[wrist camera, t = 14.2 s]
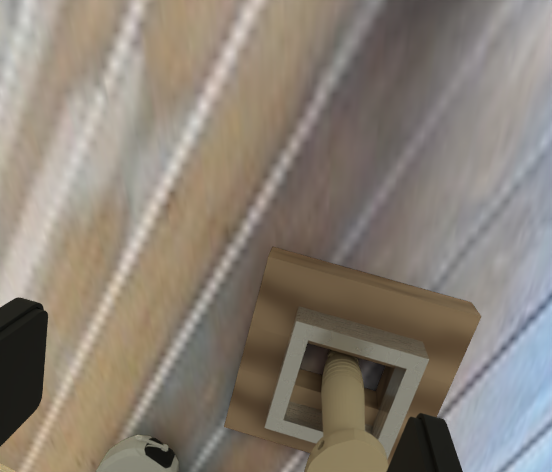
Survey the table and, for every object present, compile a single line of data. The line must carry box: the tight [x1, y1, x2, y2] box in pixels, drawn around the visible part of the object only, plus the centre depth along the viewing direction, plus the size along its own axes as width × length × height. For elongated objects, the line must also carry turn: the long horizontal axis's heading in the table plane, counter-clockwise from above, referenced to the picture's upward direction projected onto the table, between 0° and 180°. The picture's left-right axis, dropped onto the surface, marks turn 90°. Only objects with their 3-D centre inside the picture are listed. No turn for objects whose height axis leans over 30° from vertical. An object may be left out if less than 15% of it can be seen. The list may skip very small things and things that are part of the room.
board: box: [224, 247, 481, 467], centre depth 44 cm, size 20×20×3 cm
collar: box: [265, 306, 429, 459], centre depth 42 cm, size 12×12×3 cm
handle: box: [304, 350, 388, 472], centre depth 39 cm, size 5×6×15 cm
